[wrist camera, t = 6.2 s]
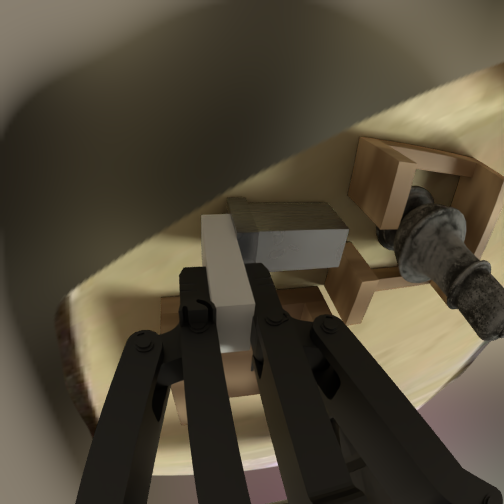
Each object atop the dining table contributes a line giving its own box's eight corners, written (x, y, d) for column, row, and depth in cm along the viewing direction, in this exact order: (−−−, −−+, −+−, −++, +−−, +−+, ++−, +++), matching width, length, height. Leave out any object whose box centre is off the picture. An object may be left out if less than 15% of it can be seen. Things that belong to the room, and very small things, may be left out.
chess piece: (375, 188, 18) (506, 326, 9) (441, 177, 19) (564, 284, 9) (368, 260, 22) (457, 395, 13) (429, 243, 22) (520, 354, 13)
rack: (290, 376, 29) (301, 410, 26) (178, 387, 27) (181, 425, 24) (317, 286, 22) (338, 326, 19) (161, 297, 20) (160, 344, 17)
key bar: (318, 242, 20) (341, 278, 17) (225, 246, 19) (234, 287, 16) (328, 197, 18) (356, 229, 15) (227, 197, 17) (237, 233, 14)
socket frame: (431, 273, 25) (456, 303, 22) (324, 285, 23) (345, 325, 19) (475, 158, 18) (511, 182, 15) (359, 136, 16) (399, 161, 13)
